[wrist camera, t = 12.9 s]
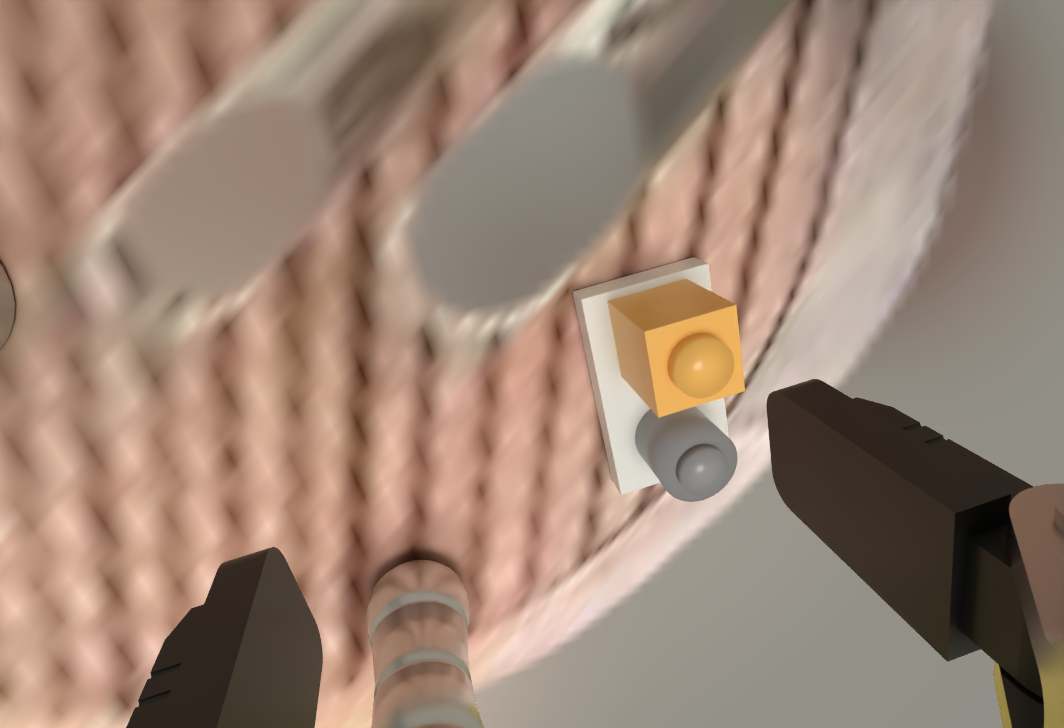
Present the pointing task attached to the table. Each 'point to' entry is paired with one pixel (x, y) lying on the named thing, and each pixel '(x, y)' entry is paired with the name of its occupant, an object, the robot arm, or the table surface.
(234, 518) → the table surface
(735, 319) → the domed tan cube
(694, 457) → the capped post
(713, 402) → the white rectangular plate
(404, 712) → the plastic bottle
